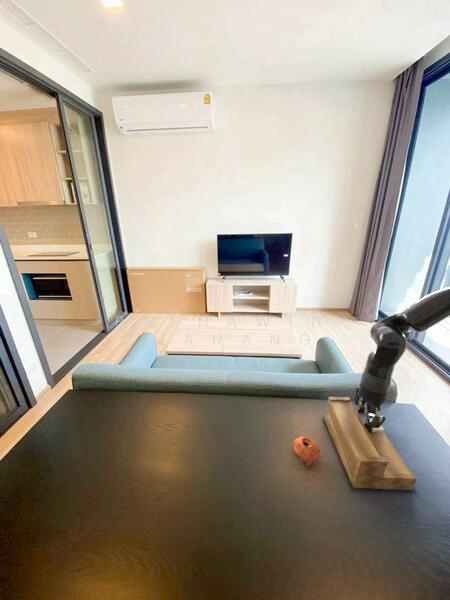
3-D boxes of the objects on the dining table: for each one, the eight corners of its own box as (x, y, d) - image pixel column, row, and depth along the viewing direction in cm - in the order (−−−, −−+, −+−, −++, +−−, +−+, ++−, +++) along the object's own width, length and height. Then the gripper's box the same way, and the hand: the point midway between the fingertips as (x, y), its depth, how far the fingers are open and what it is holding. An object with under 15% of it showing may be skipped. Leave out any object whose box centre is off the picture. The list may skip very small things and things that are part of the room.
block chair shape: (376, 421, 84) (378, 413, 82) (383, 432, 79) (386, 424, 78) (352, 420, 84) (354, 412, 83) (358, 431, 80) (360, 423, 78)
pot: (289, 464, 74) (292, 443, 73) (293, 447, 81) (295, 428, 80) (317, 474, 71) (320, 453, 70) (319, 456, 78) (321, 437, 77)
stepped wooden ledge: (368, 420, 89) (375, 397, 85) (412, 490, 67) (423, 463, 64) (324, 419, 90) (328, 396, 86) (353, 487, 68) (360, 461, 64)
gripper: (401, 401, 69) (387, 445, 75) (374, 369, 82) (364, 409, 88) (374, 400, 69) (362, 444, 75) (352, 369, 82) (343, 408, 88)
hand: (363, 425), depth 82 cm, fingers closed on block chair shape, 4 cm apart
